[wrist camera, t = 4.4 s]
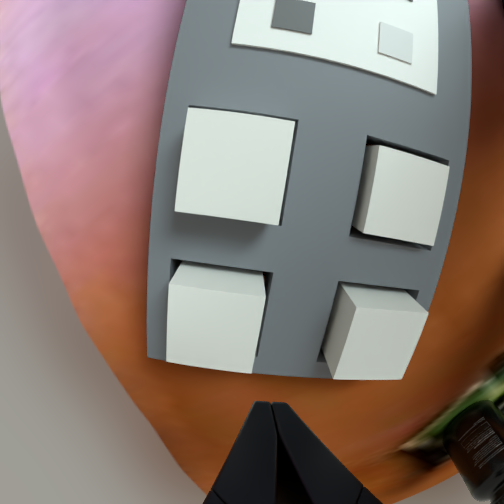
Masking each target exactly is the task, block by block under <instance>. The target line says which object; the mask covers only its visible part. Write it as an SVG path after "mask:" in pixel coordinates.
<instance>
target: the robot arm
mask: <svg viewBox="0 0 504 504" xmlns="http://www.w3.org/2000/svg"><path fill="white" fill-rule="evenodd" d="M502 2H503V8H504V0H502ZM203 504H383V503H382V502H380V501H379V500H378V499H377V498H376V497H375V496H374V495H373V494H372V493H371V492H370V491H369V490H368V489H367V488H366V487H363V484H362V483H361V482H360V481H359V480H358V479H357V478H356V477H355V476H354V475H353V474H352V473H351V472H350V471H349V470H348V469H347V468H346V467H345V466H344V465H343V464H342V463H341V462H340V461H339V460H338V459H337V458H336V457H335V456H334V455H333V453H332V452H331V451H330V450H329V449H328V448H327V447H326V446H325V445H324V444H323V443H322V442H321V441H320V439H319V438H318V437H317V436H316V435H315V434H314V433H313V432H312V431H311V430H310V429H309V427H308V426H307V425H306V424H305V423H304V422H303V421H302V420H301V419H300V417H299V416H298V415H297V414H296V413H295V412H294V411H293V409H292V408H291V407H290V406H289V405H288V404H287V403H284V402H272V403H271V404H270V403H269V402H265V401H255V402H254V403H253V405H252V407H251V409H250V411H249V413H248V416H247V418H246V420H245V422H244V424H243V426H242V428H241V430H240V432H239V434H238V436H237V438H236V440H235V442H234V445H233V447H232V449H231V451H230V453H229V455H228V457H227V459H226V461H225V463H224V464H223V466H222V468H221V470H220V472H219V474H218V476H217V478H216V480H215V482H214V484H213V486H212V488H211V491H209V493H208V495H207V497H206V498H205V500H204V502H203Z"/></svg>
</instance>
